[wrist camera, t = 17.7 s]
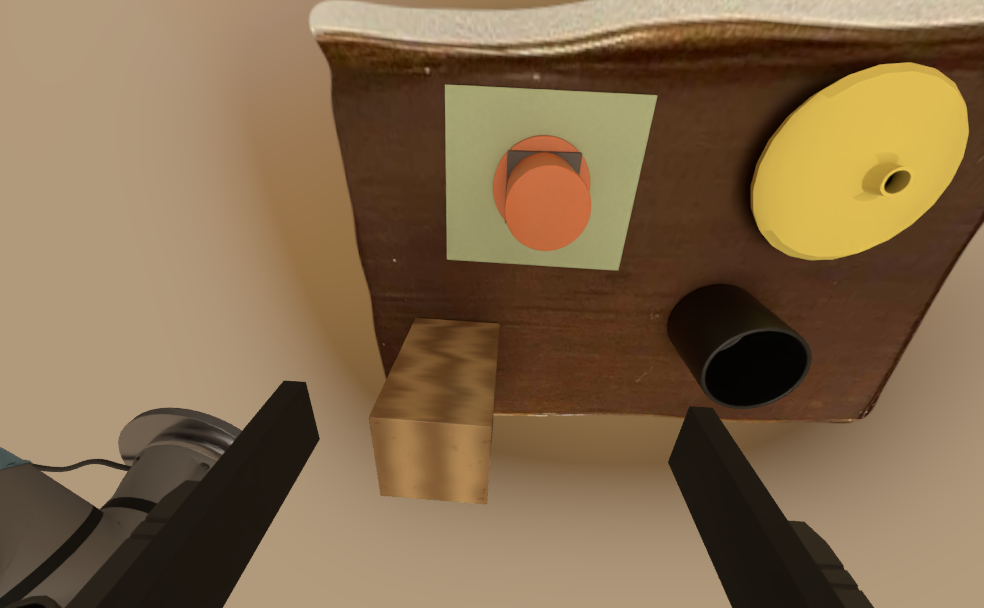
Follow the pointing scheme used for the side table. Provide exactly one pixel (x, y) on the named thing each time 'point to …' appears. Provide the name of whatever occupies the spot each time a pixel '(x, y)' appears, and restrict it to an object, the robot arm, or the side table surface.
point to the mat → (530, 112)
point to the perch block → (438, 413)
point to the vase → (859, 161)
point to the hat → (543, 192)
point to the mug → (738, 347)
